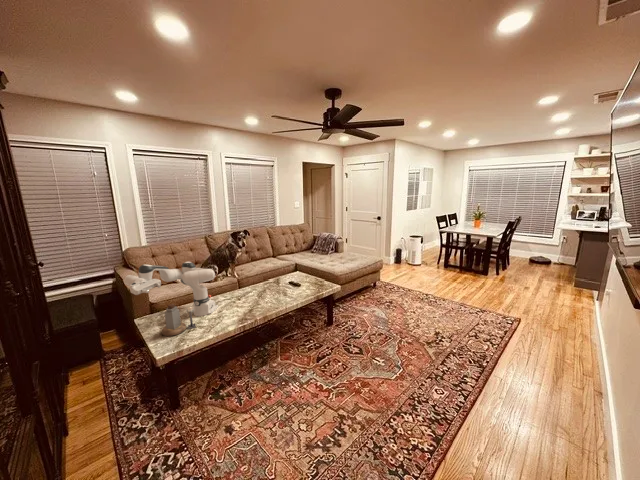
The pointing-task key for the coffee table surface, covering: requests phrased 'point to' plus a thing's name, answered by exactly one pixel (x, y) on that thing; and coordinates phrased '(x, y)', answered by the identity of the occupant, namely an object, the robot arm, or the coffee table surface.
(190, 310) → the dial indicator
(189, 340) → the coffee table surface
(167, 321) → the perfume bottle
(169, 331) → the turntable
